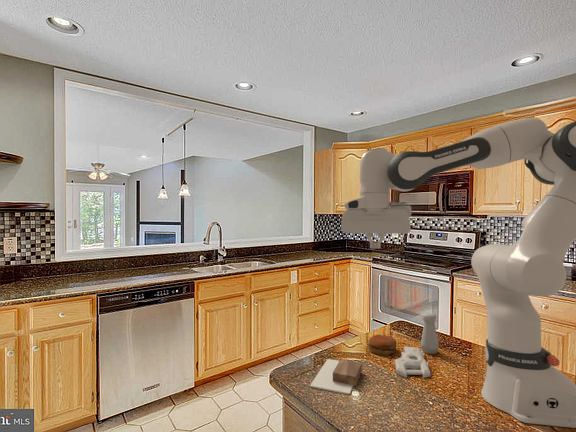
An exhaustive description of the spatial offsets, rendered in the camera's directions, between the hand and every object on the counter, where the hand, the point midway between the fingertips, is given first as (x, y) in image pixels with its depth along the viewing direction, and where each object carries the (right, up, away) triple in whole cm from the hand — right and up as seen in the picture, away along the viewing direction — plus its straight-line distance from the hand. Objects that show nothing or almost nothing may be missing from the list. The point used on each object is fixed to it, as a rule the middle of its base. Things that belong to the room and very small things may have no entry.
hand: (375, 248), depth 98 cm
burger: (+6, -38, +16) cm, 41 cm away
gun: (+12, -38, +4) cm, 40 cm away
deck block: (-6, -36, -5) cm, 36 cm away
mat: (-12, -37, -3) cm, 39 cm away
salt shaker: (+22, -37, +13) cm, 45 cm away
